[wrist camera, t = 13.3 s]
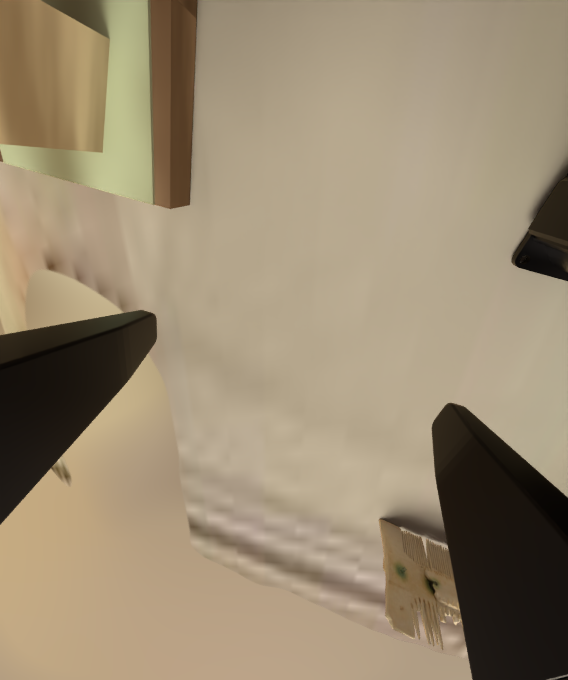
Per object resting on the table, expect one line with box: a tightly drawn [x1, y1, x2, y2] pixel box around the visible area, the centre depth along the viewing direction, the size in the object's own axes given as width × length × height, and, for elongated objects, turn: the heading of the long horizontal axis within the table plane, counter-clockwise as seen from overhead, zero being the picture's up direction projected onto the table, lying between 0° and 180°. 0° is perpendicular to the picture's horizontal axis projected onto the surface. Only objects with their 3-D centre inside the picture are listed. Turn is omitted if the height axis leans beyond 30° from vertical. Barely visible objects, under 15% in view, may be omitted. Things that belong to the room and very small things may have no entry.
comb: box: [379, 519, 463, 650], centre depth 29 cm, size 15×2×10 cm, turn 74°
